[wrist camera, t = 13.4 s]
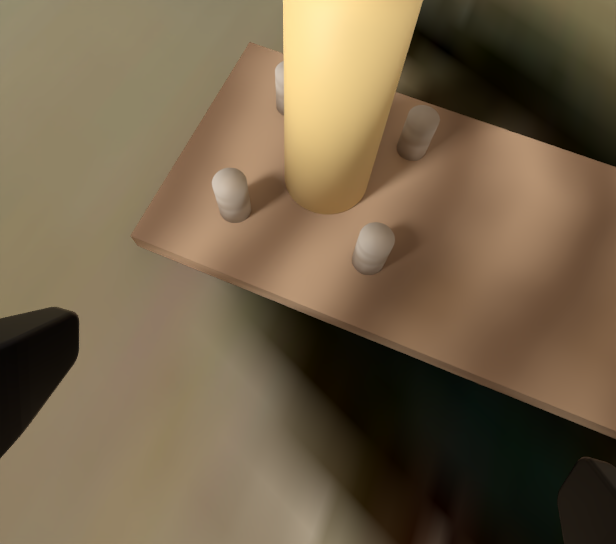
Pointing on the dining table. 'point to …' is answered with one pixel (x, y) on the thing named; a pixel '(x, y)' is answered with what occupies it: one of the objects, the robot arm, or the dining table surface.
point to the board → (414, 242)
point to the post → (339, 93)
